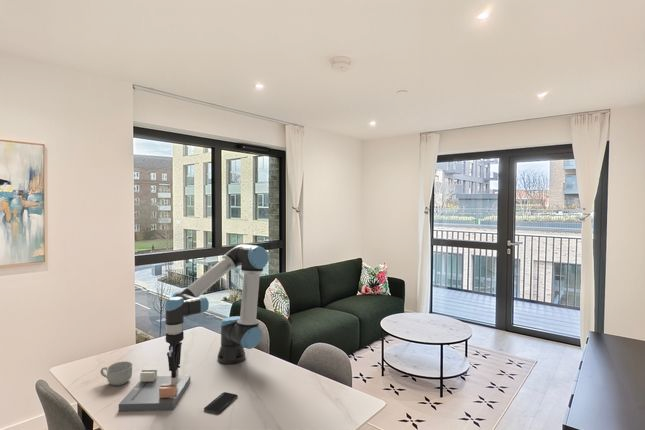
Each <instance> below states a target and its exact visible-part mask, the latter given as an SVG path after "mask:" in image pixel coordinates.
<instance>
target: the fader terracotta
mask: <svg viewBox="0 0 645 430" xmlns="http://www.w3.org/2000/svg"><path fill="white" fill-rule="evenodd" d="M176 393H177V384H162V385H161V386H160V388H159V398H172V397H174V396H175V394H176Z"/></svg>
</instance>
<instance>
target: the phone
mask: <svg viewBox="0 0 645 430" xmlns="http://www.w3.org/2000/svg"><path fill="white" fill-rule="evenodd" d="M237 399H238V394H237V393H230V392H226V391H225V392H222V393H220V394H219V395H218V396H217V397H215V399H213V400H212V401H211V402H210V403H208V404H207V405H206V406H205V407H204V408H203V412H205V413H208V414H214V415H221V413H222V412H223V411H224V410H226V409H227V408H228V407H230V405H231V404H232V403H233V402H234V401H236V400H237Z"/></svg>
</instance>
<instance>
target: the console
mask: <svg viewBox="0 0 645 430" xmlns="http://www.w3.org/2000/svg"><path fill="white" fill-rule="evenodd" d="M190 383H191V375H178V384H177V393H176V394H175V396H174V397H172V398H159V388H160V386H161V385H162V384H171V375H164V376H163V375H161V376H160V375H157V378H156V379H155V380H154V381H146V382H140V380H139V381H138V382H137V383H136V384H135V386H133V387H132V389H131V390H130V391H129V392H128V393H127V394H126V395H125V397H124V398H123V399H121V401H120V402H119V403H118V412H137V411H138V412H141V411H142V412H143V411H146V412H147V411H173V410H174V409H175V408H176V406H177V405H178V403H179V401H180V399H181V398H182V396H183V394H184V393H185V391H186V390H187V388H188V387H189V385H190Z"/></svg>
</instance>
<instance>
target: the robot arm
mask: <svg viewBox="0 0 645 430" xmlns="http://www.w3.org/2000/svg"><path fill="white" fill-rule="evenodd" d="M221 258H222V259H220V260H219V261H218V262H216V263H215V264H214V265H213V266H211V267H210V268H209V269H208V270H206V272H204V273H203V274H202V275H200V276H199V277H198V278H196V280H194V281H193V282H191V284H189V285H188V286H187V287H185V288H184V289H183V290H182V291H177V292H175V293H173V294H172V295H171V297H169V298H167V299H166V300H165V309H164V310H165V324H164V327H165V342H166V343H167V344H169V346H168V352H167V353H166V356H167V362H168V371H169V372H170V376H171V384H178V376H179V369H180V368H181V356H182V355H181V354H182V353H181V352H182V344H183V340H185V339H184V334H185V333H184V330H185V328H184V327H185V325H184V324H185V322H184V321H185V320H184V319H185V318H186V317H190V316H194V315H199V314H202V313H205V312H207V311H208V310H209V304H210V303H209V300H208V298H207V297H206V296H201V295H203V294H204V293H205V292H206V291H208V290H209V289H210V288H211V287H212V286H213V285H215V284H216V283H217V282H218V281H220V279H222V277H224V276H225V275H226V274H227V273H229V271H231V270H235V269H236V268H237V267H239V266H241V268H240V270H241V271H242V273H243V278H242V279H243V280H242V291H241V303H240V314H239V315H236V316H233V315H232V316H229V317H225V318H223V319H222V320H221V322H220V348H219V350H218V353H217V362H218V363H220V364H223V365H235V364H238V363H239V364H240V363H241V362H243V361H244V360H245V359H246V351H245V349H248V350H251V349H254V348H256V347H257V346H258V345H259V344H260V343H261V341H262V339H263V331H262V330H261V328H260V327H259V324H260V321H259V319H257V313H258V301H259V300H258V299H259V291H260V290H259V289H260V279H261V278H260V277H261V274H262V273H263V272H264V268H265V267H266V266H267V264H268V262H269V254H268V251H267V250H266V249H265V247H262V246H259V245H254V244H243V243H242V244H239V245H236V246H235V247H233V248H231V249H230V250H228V251H227V252H226V253H224V255H222V256H221Z"/></svg>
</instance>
